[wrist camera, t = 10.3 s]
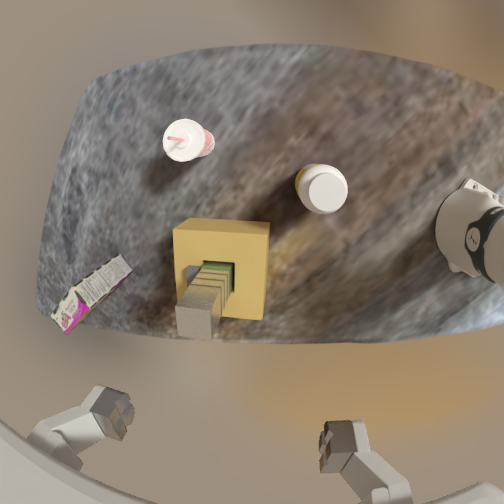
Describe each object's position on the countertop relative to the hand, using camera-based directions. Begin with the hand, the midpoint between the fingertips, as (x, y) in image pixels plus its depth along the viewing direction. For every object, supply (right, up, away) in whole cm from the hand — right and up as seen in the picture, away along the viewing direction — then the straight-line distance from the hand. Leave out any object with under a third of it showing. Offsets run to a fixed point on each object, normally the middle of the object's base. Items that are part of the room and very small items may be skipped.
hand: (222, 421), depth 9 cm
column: (-4, +4, +35) cm, 36 cm away
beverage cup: (-7, +25, +34) cm, 43 cm away
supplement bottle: (+11, +18, +34) cm, 40 cm away
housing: (-3, +6, +40) cm, 40 cm away
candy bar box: (-28, +2, +44) cm, 53 cm away
